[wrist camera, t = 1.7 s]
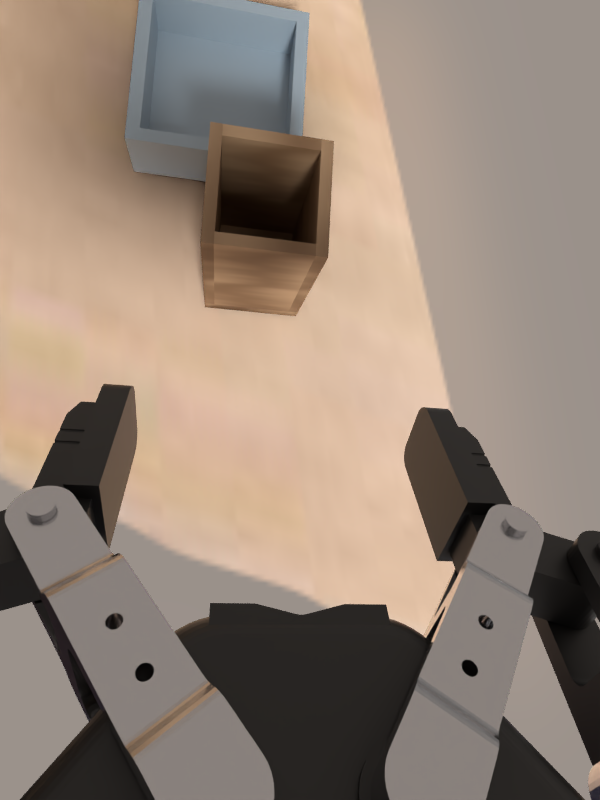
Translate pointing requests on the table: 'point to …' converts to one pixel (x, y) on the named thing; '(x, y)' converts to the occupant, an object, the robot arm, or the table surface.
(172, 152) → the blue crate
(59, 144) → the table surface
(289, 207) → the walnut crate
